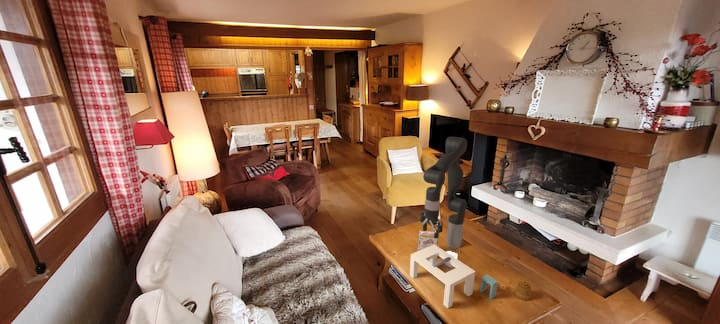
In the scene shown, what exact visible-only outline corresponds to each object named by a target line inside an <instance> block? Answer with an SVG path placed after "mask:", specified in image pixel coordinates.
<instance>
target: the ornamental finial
mask: <svg viewBox="0 0 720 324" xmlns="http://www.w3.org/2000/svg"><path fill="white" fill-rule="evenodd" d="M531 287H532V286H531V285H530V283H528V282H527V281H525V280H520V281H518V282H517V285H516V287H515V288H514V291H513V292H514V295H515V296H516V297H517V298H518V299H520V300H522V301H528V300H530V299H531V297H532V294H531Z"/></svg>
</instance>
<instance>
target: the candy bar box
mask: <svg viewBox="0 0 720 324" xmlns="http://www.w3.org/2000/svg"><path fill="white" fill-rule="evenodd" d="M434 232H435V231H429V230H426V231H423V230H419V232H418V242H417V243H418V244H417V251H420V250H422V249H425V248H427V247H429V246H432V245H434V244H435V245H436V246H438V244H439V237H438V238H436V239H435V238H434Z"/></svg>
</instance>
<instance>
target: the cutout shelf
mask: <svg viewBox="0 0 720 324" xmlns="http://www.w3.org/2000/svg"><path fill="white" fill-rule="evenodd" d="M438 257H440V258H441V260H438ZM409 261H410V264H409V277H411V278H412V279H415V278H418V270H419V265H420V266H421V267H422V268H424V269H425V270H427V272H429V273H430V274H432V275H433V276H434V277H435V278H436V279H438V280H439V282H441V283H443V284H444V292H443V303H442V304H443V306H444V307H445V308H447V309H449V308H451V307H453V303H454V302H453V301H454V295H455V293H454V292H455V286H457V285H459V284H461V283H463V282H464V286H463V288H464V289H463V294H464V295H466V296H467V297H470V296H471V295H473V293H474V292H473V291H474V285H475V276H476V271H475V270H474V269H473V268H471V267H469V266H468V265H467V264H465V263H463V261H460V260H459V259H458V258H455V257H454V256H453V255H451V254H450V253H448V252H446V250H444V249H442V248H441V247H440V246H438V245H437V246H436V245H435V244H434V245H432V246H429V247H427V248H425V249H422V250H420V251H418V250H417V251H415V252H413V253H410V260H409ZM447 263H448V264H450V265H451V266H453V267H454V268H453V269H451V270H449V271H447V272H444V271H443V270H441V269H440V268H439V267H440V266H442V265H444V264H447Z"/></svg>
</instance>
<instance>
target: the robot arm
mask: <svg viewBox="0 0 720 324" xmlns="http://www.w3.org/2000/svg"><path fill="white" fill-rule="evenodd" d="M444 147H445V154H443V155H442V156H440V157H439V159H437V161H436V163H434V164H433V165H432V166H430V167H428V168H427V169H426V170H425V171H424V173H423V177H422V178H423V181H424V182H425V183H428V184H431V185H435V186H429V187H427V188H426V191H425V201H424V211H422V212H420V219H419V222H420V223H422V231H428V225H430V226H431V228H432V229H433V230H434V231H433V232H434V238H435V239H436V238H438V239H439V235H440V233H442V232H443V224H444V223H443V221H439V216H440V210H441V209H440V208H441V207H440V206H441V201H440V199H441V192H442V188H443V185H444V184H445V181H446V179H447V202H446V204H447V206H446V207H447V209H448V210H449V211H450V212H453V213H456V214H451V215H449V217H448V223H447V231H446V232H447V233H446V243H445V244H446V246H447V247H450V248H452V249H459V248H461V246H462V245H463V237H464V231H463V230H464V229H463V228H464V222H465V218H466V217H465V215H466V210H467V204H468V203H467V201H466V200H465V199H464V198H460V197H456V193H457V191H458V190H459V189H460V187H461V186H462V185H463V183H464V171H463V168H462V167H461V165H460V164H459V162H458V161H457V160H458V159H459V158H461V156H463V154H465V152H466V151H467V147H468V141H467V139H466V138H463V137H457V136H448V137H447V138H446V139H445V146H444ZM445 174H447V178H446V175H445Z"/></svg>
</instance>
